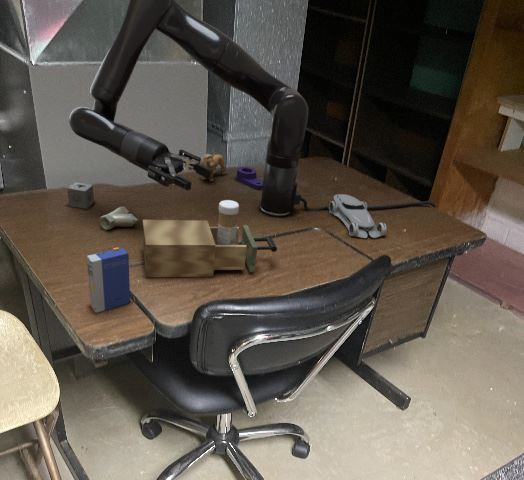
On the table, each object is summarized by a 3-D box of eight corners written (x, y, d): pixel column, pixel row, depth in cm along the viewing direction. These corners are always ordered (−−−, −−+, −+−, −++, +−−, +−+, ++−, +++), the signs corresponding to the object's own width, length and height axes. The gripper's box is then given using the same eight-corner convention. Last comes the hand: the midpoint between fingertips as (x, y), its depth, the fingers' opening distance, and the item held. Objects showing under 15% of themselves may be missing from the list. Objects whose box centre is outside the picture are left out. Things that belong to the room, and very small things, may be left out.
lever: (232, 177, 185) (233, 167, 183) (248, 175, 188) (249, 165, 186) (253, 190, 177) (254, 180, 175) (269, 188, 180) (270, 178, 179)
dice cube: (94, 202, 157) (92, 185, 154) (86, 209, 153) (85, 191, 150) (77, 199, 157) (75, 181, 154) (69, 205, 153) (67, 188, 150)
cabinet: (205, 250, 141) (207, 220, 136) (213, 276, 131) (215, 244, 126) (143, 250, 137) (142, 219, 132) (146, 277, 127) (145, 244, 122)
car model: (351, 239, 156) (355, 222, 153) (322, 204, 175) (325, 188, 172) (387, 238, 159) (391, 222, 156) (354, 204, 178) (358, 189, 175)
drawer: (267, 249, 144) (270, 225, 140) (277, 271, 135) (281, 247, 131) (188, 248, 139) (189, 224, 135) (194, 272, 130) (195, 247, 126)
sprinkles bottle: (226, 250, 138) (231, 198, 130) (238, 258, 136) (243, 205, 128) (211, 254, 136) (215, 201, 128) (222, 262, 133) (227, 208, 125)
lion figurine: (211, 186, 176) (213, 157, 171) (196, 182, 177) (197, 154, 172) (228, 172, 188) (230, 145, 182) (213, 169, 189) (215, 142, 183)
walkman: (123, 296, 120) (121, 245, 113) (130, 302, 118) (128, 251, 111) (89, 306, 115) (84, 254, 108) (95, 313, 114) (91, 260, 107)
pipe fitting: (139, 226, 149) (118, 217, 150) (140, 212, 146) (118, 204, 148) (121, 236, 143) (99, 227, 144) (121, 223, 140) (99, 213, 142)
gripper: (126, 146, 128) (185, 176, 124) (163, 129, 138) (219, 156, 134) (124, 175, 133) (181, 205, 130) (160, 157, 143) (213, 184, 140)
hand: (200, 180), depth 132 cm, fingers open, 8 cm apart
